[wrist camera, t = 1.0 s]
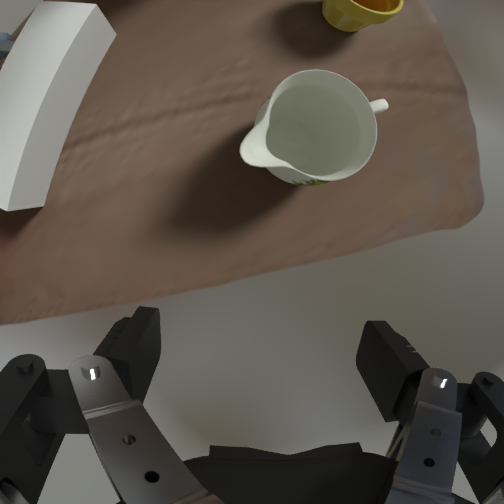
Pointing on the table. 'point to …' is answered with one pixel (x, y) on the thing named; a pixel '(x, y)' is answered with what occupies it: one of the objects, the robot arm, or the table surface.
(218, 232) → the table surface
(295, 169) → the pitcher
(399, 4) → the plant pot
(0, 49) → the blue key
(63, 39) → the key box
